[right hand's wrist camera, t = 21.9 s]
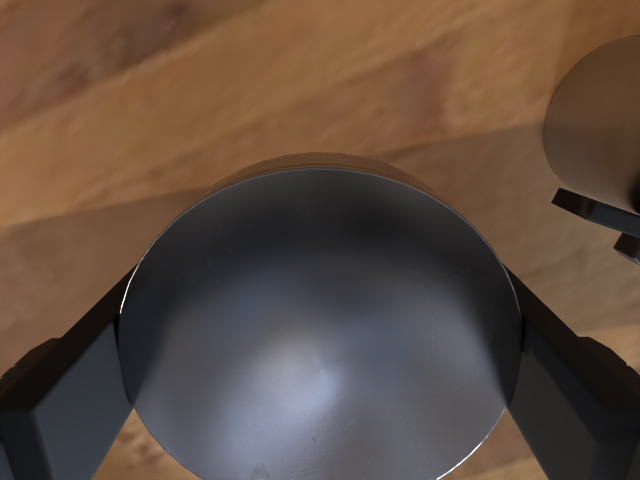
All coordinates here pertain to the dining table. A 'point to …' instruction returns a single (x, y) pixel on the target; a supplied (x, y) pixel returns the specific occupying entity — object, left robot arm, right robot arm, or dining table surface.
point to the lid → (320, 327)
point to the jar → (599, 125)
